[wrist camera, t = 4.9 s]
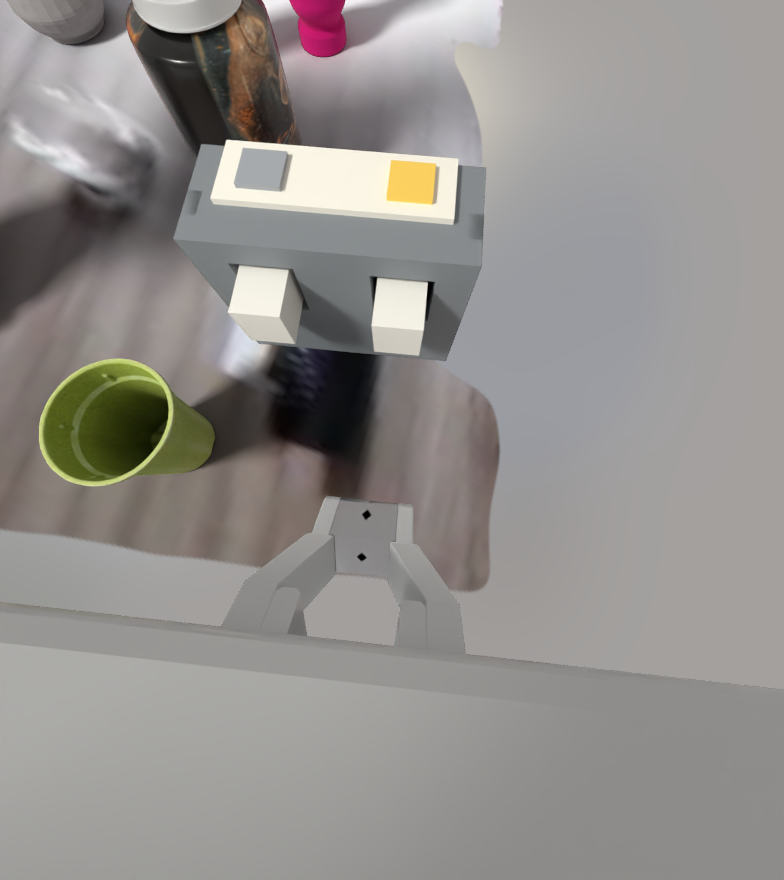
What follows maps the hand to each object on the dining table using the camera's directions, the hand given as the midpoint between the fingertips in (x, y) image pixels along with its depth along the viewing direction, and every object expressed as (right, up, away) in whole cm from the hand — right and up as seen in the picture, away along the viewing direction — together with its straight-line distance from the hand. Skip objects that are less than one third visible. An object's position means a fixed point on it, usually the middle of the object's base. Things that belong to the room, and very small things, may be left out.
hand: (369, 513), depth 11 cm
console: (-3, +16, +22) cm, 28 cm away
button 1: (-9, +13, +14) cm, 21 cm away
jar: (-15, +34, +27) cm, 46 cm away
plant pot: (-20, +2, +20) cm, 28 cm away
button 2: (+1, +12, +14) cm, 19 cm away
